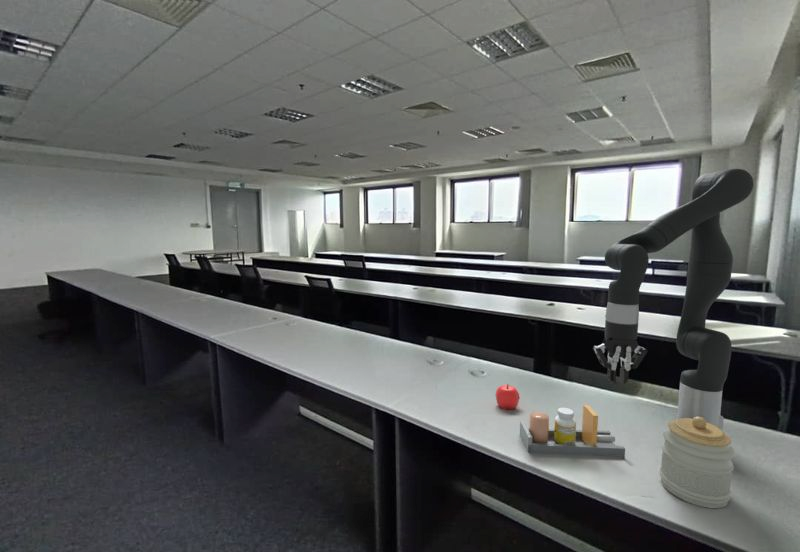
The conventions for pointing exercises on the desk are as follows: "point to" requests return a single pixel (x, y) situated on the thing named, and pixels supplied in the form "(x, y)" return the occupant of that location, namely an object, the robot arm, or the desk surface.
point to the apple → (507, 397)
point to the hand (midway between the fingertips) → (617, 382)
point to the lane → (578, 448)
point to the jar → (697, 462)
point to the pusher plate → (592, 428)
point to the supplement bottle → (565, 427)
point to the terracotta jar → (539, 427)
